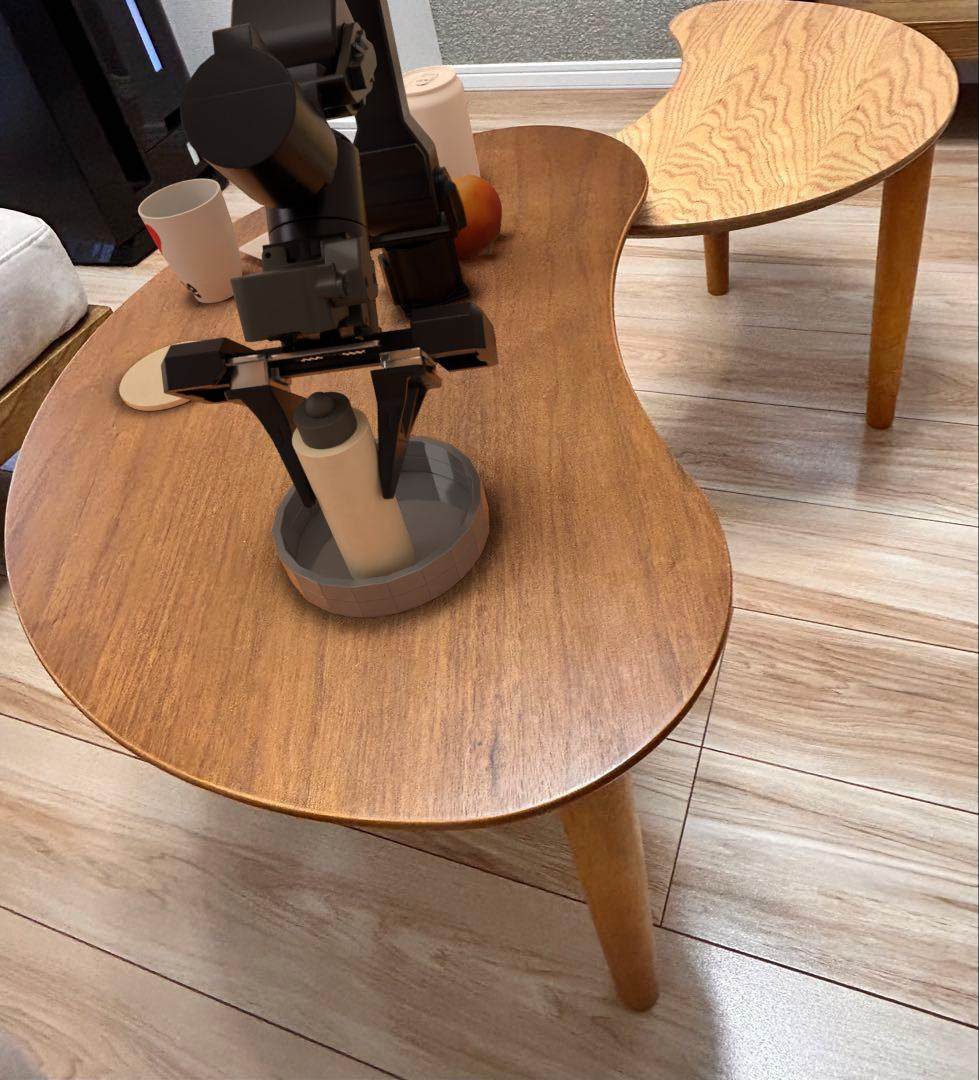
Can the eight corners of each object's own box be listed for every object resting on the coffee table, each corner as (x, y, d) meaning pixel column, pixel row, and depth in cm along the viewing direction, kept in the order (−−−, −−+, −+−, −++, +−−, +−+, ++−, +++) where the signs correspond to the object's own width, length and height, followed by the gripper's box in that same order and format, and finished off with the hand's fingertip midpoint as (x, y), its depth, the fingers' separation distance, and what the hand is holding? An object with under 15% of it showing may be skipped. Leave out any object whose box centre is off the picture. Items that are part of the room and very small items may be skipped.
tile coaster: (220, 333, 84) (218, 328, 84) (233, 386, 77) (230, 381, 77) (120, 368, 83) (117, 362, 83) (124, 424, 76) (120, 419, 76)
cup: (189, 278, 94) (147, 189, 87) (261, 263, 93) (224, 171, 86) (176, 318, 88) (130, 225, 81) (253, 302, 87) (213, 207, 80)
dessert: (323, 209, 100) (310, 168, 96) (390, 231, 93) (378, 187, 89) (240, 258, 95) (223, 217, 91) (304, 285, 88) (287, 241, 85)
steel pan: (454, 447, 66) (444, 411, 63) (520, 571, 56) (512, 534, 53) (276, 513, 64) (258, 478, 62) (311, 653, 54) (292, 618, 52)
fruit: (516, 251, 82) (460, 184, 78) (457, 293, 86) (401, 232, 83) (530, 210, 87) (478, 146, 83) (473, 252, 92) (422, 193, 88)
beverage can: (400, 210, 96) (370, 97, 87) (428, 176, 101) (402, 66, 92) (467, 209, 93) (442, 92, 85) (492, 175, 98) (471, 61, 89)
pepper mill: (404, 527, 58) (345, 360, 48) (423, 570, 55) (363, 402, 45) (342, 550, 57) (270, 387, 48) (357, 596, 54) (283, 431, 45)
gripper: (88, 215, 44) (124, 523, 44) (450, 152, 41) (486, 481, 41) (194, 274, 55) (222, 520, 55) (484, 228, 52) (512, 487, 52)
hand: (349, 503), depth 51 cm, fingers closed on pepper mill, 4 cm apart
